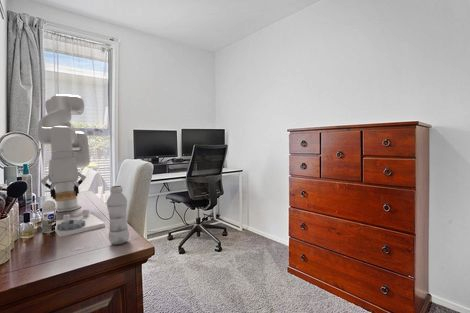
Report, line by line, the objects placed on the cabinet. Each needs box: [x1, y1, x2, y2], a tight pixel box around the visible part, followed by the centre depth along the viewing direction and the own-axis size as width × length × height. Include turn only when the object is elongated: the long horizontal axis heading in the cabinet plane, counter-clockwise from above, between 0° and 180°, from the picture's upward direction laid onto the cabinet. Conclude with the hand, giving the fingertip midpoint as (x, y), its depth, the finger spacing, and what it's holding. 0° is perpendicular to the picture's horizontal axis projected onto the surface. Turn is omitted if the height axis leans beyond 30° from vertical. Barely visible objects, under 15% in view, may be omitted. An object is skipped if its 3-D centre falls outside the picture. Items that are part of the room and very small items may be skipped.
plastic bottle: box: [106, 185, 130, 245], centre depth 89 cm, size 6×7×20 cm
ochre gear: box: [54, 191, 76, 202], centre depth 110 cm, size 7×7×3 cm
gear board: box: [54, 209, 106, 238], centre depth 110 cm, size 20×16×4 cm
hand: (65, 196), depth 110 cm, fingers closed on ochre gear, 7 cm apart
